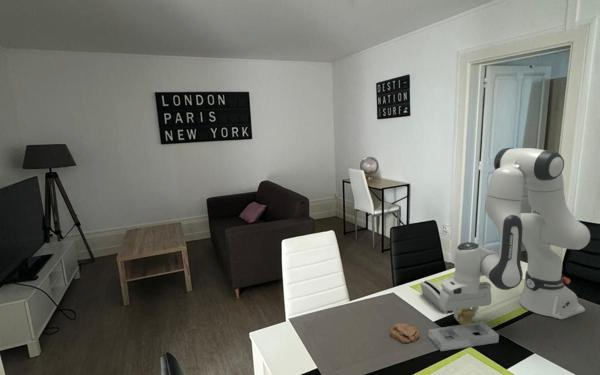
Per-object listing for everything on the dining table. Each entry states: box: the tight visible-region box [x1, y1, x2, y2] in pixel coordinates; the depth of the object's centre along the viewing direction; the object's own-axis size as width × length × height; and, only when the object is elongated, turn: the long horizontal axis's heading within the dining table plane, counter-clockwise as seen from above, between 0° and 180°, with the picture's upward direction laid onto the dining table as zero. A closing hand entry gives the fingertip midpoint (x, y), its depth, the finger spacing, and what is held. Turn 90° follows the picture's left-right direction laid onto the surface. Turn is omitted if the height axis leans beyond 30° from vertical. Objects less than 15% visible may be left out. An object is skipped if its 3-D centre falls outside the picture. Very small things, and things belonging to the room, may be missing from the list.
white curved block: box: [419, 279, 453, 314], centre depth 138 cm, size 17×5×10 cm, turn 10°
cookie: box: [389, 322, 420, 344], centre depth 118 cm, size 10×11×3 cm
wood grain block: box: [455, 308, 474, 325], centre depth 124 cm, size 4×4×6 cm
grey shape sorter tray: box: [428, 321, 500, 352], centre depth 114 cm, size 22×8×3 cm, turn 98°
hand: (464, 316), depth 124 cm, fingers open, 5 cm apart
